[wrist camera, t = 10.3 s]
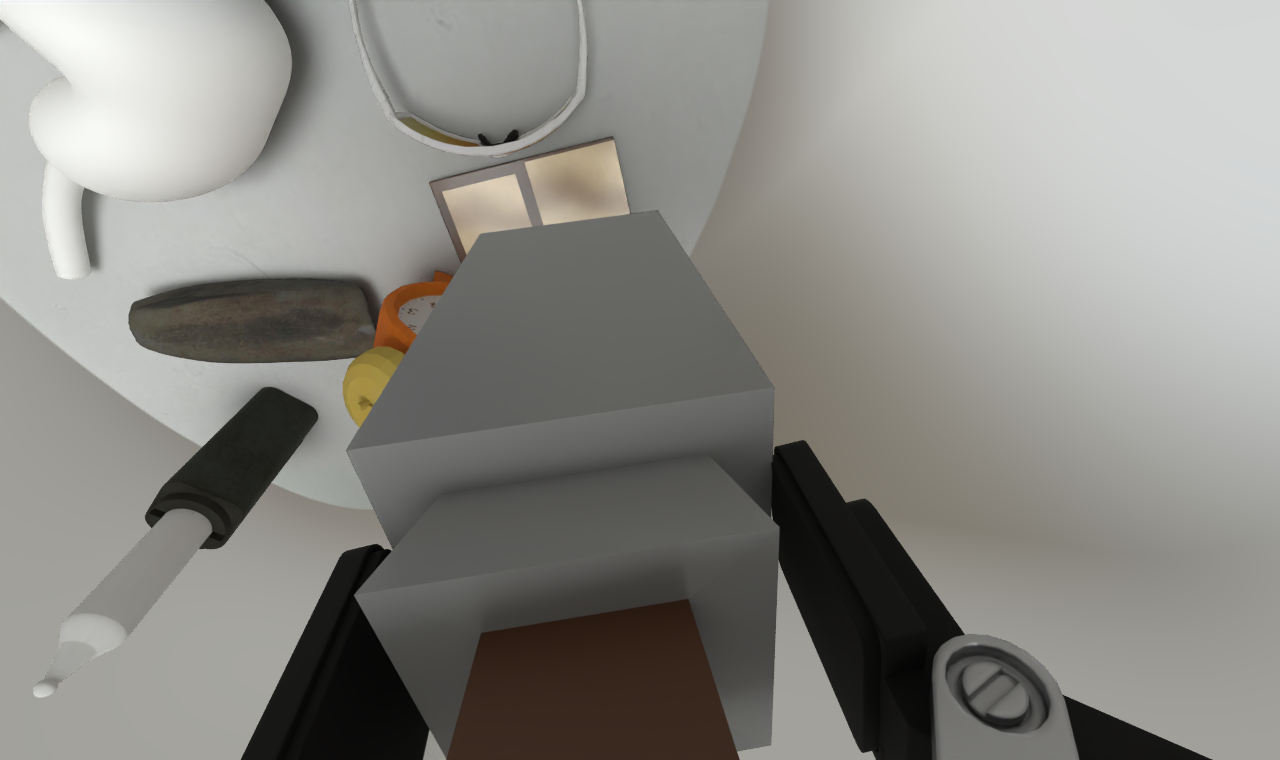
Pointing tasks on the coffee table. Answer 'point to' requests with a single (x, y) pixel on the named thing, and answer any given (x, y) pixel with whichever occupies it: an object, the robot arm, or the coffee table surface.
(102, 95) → the stomach
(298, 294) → the decorative stone
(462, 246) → the brown picture frame
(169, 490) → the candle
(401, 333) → the alarm clock
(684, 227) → the coffee table surface
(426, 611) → the perfume bottle
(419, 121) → the sunglasses
